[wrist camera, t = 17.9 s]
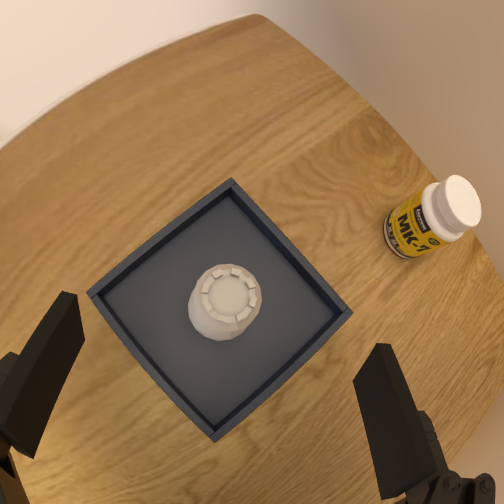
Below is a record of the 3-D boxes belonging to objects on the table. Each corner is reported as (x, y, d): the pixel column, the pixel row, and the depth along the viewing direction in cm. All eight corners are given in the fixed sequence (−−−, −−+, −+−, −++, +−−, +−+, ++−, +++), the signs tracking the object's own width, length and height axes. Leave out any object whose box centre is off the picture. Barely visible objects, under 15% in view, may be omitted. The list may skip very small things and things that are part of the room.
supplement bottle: (372, 228, 26) (431, 187, 18) (400, 200, 27) (456, 158, 19) (405, 270, 25) (471, 244, 17) (430, 240, 27) (491, 209, 19)
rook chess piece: (260, 329, 22) (291, 326, 14) (199, 348, 21) (196, 357, 13) (240, 269, 23) (260, 235, 15) (180, 287, 22) (167, 261, 14)
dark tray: (341, 314, 24) (353, 312, 22) (213, 434, 20) (214, 443, 18) (228, 189, 25) (231, 176, 23) (95, 296, 21) (85, 292, 19)
